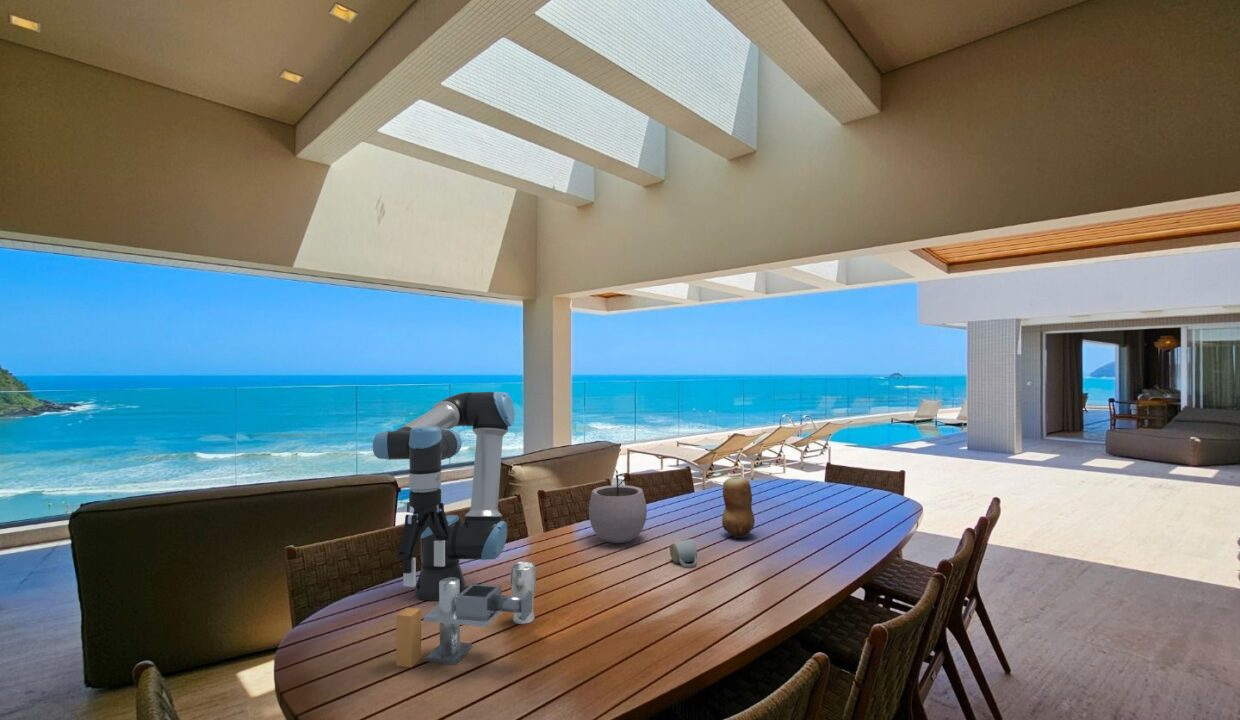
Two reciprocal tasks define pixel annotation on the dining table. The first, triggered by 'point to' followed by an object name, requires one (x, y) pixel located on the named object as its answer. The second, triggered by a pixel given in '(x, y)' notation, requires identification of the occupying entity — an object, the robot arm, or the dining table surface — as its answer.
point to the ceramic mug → (684, 552)
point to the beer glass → (523, 586)
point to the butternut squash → (737, 507)
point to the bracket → (490, 602)
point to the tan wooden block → (408, 637)
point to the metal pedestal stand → (451, 624)
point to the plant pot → (617, 512)
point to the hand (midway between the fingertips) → (425, 575)
